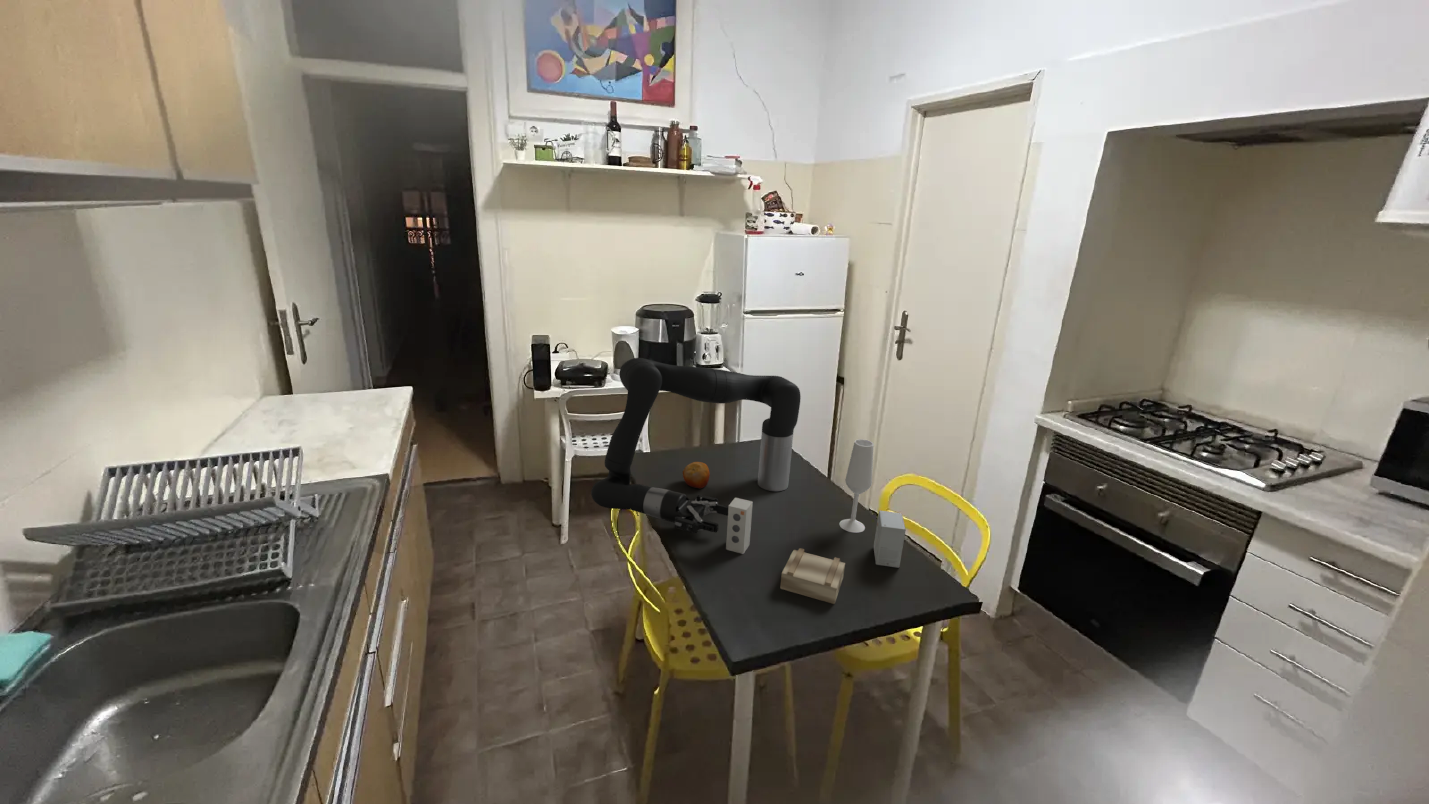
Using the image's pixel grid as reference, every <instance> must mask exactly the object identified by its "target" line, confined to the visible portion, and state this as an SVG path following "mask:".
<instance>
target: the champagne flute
mask: <svg viewBox="0 0 1429 804" xmlns="http://www.w3.org/2000/svg"><path fill="white" fill-rule="evenodd" d="M874 447H875V445H874V442H872V441H871V440H868V439H864V438H862V439H861V438H858V439H855V440H854V443H853V446H852V451H851V454H850V459H849V461H848V462H849V463H848V467H847V471H846V476H845V478H844V480H845V481H844V482H845V485H846V486H847V488H848V489H849V490H850V491H851V492H852V493H853V501H852V507H851V515H850V518H846V519H845V518H844V519H842V520H840V522H839V526H840V529H843V530H844V531H846V532H849V533H857V534H858V533H862V532H864V531H865V529H866V527H865V524H864V523H862V522H861V521H858V520H857V519H856V518H857V512H858V511H857V509H858V504H859V495H861V494H863V493H865V492H867V491H868V490H869V489H870V488H871V487H872V484H873V463H874Z"/></svg>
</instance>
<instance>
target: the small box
mask: <svg viewBox="0 0 1429 804" xmlns="http://www.w3.org/2000/svg"><path fill="white" fill-rule="evenodd" d="M905 525H906V524H905V521H904V517H903V513H901V512H893V511H887V510H878V515H877V522H876V528H875V535H874V541H873V551H874V552H873V553H874V561H875V565H876V566H882V567H883V566H885V567H891V568H900V566H901V559H902V556H903V555H902V554H903V546H904V544H905V543H904V542H905V536H906V526H905Z"/></svg>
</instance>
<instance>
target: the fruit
mask: <svg viewBox="0 0 1429 804" xmlns="http://www.w3.org/2000/svg"><path fill="white" fill-rule="evenodd" d="M710 476H711V473H710V468H709V466H708V464H706V463H704V462H703V461H702V462H701V461H693V462H691V463H688V464H687V465H686V466H685V467H684V469H683V470H682V478H683V480H684V482H685V484H686V485H687V486H689V487H691V488H696V489H704V488H705V487H706V486H707V485H708V483H709V480H710Z"/></svg>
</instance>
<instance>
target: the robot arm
mask: <svg viewBox="0 0 1429 804" xmlns="http://www.w3.org/2000/svg"><path fill="white" fill-rule="evenodd" d="M619 380H620V382H621V384H622V385H623V387H624V388H625V389H626V390H627V396H626V403H625V408H624V412H623V413H622V416H621V419H620V420H619V422H618V424H617V426H616V428H615V429H614V431H613V433H612V435H611V437H610V441H609V444H608V447H607V450H606V454H605V458H604V467H605V468H606V469H607V471H608V474H607V477H605V478H603V479H599V480H598V481H597V482H596V483H594V484H593V486H592V488H591V491H590V494H591V498H592V500H593V502H595V503H596V504H597V505H598V506H600V507H603V508H606V509H611V510H612V509H613V510H628V511H632V512H633V511H634V512H637V513H639V514H640V513H641V514H645V515H647V516H650V517H652V518H655V519H659V520H662V521H667V522H671V523H674V528H675V529H679V530H681V531H684V532H688V533H691V534H697V533H698V532H699V531H707V532H711V533H718V531H719V524H718V522H715V521H710V520H707V519H702V517H704V516H709V514H712V513H713V514H715V513H716V514H719V515H723V516H727V517H728V508H729V505H723V504H720V503H719V498H717V497H712V496H708V495H704V494H696V496H695V499H689V498H688V496H687V495H686V494H685V493H681V492H679V491H673V490H670V489H666V488H661V487H660V488H659V487H652V486H649V485H644V484H639V483H634V484H631V473H632V472H631V467H632V464H633V461H634V458H635V454H636V450H637V447H638V443H639V441H640V440H639V439H640V438H641V437H640V436H641V434H642V431H643V429H644V426H645V423H646V421H647V418H648V417H649V414H650V412H651V409H652V408H653V406H654V404H655V401H656V399H657V397H658V395H659V392H661V391H662V392H669V393H673V394H676V395H678V396H682V397H685V398H689V399H691V400H694V401H699V402H704V403H709V404H710V403H712V404H730V403H735V402H738V401H743V400H745V401H753V402H758V403H762V404H764V405H767V406H768V407H770V413H769V417H768V418H766V419H764V420H763V421H762V424H761V436H760V448H759V451H760V452H759V463H758V474H757V485H758V486H759V487H760V488H761V489H763V490H765V491H770V492H781V491H784V490H787V488H788V487H789V481H790V480H789V479H790V472H791V462H792V461H791V460H792V451H793V440H794V439H793V438H794V431H795V428H796V426H797V424H798V420H799V414H800V406H801V397H802V396H801V391H800V388H799V387H798V386H797V384H795V383H794V382H792V381H790V380H789V379H787V378H785V377H782V376H779V375H752V374H744V373H741V372H735V371H729V370H724V369H720V368H719V369H718V368H711V367H700V366H699V367H698V366H689V365H686V366H685V365H674V364H667V363H664V362H663V363H662V362H659V361H655V360H652V359H647V358H643V357H634V358H631V359H629V360H627V361H625V362H624V363H623V364H622V366H620V369H619ZM690 526H691V527H690Z"/></svg>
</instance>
